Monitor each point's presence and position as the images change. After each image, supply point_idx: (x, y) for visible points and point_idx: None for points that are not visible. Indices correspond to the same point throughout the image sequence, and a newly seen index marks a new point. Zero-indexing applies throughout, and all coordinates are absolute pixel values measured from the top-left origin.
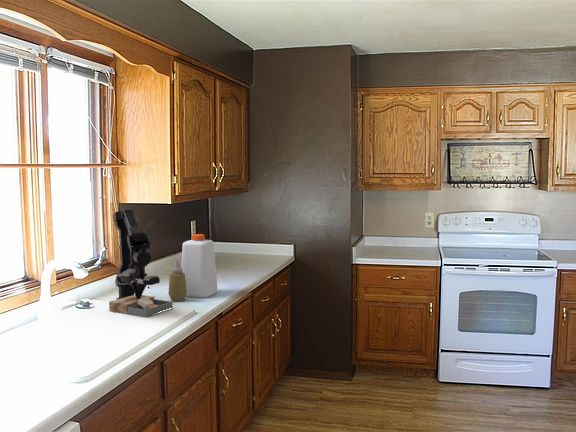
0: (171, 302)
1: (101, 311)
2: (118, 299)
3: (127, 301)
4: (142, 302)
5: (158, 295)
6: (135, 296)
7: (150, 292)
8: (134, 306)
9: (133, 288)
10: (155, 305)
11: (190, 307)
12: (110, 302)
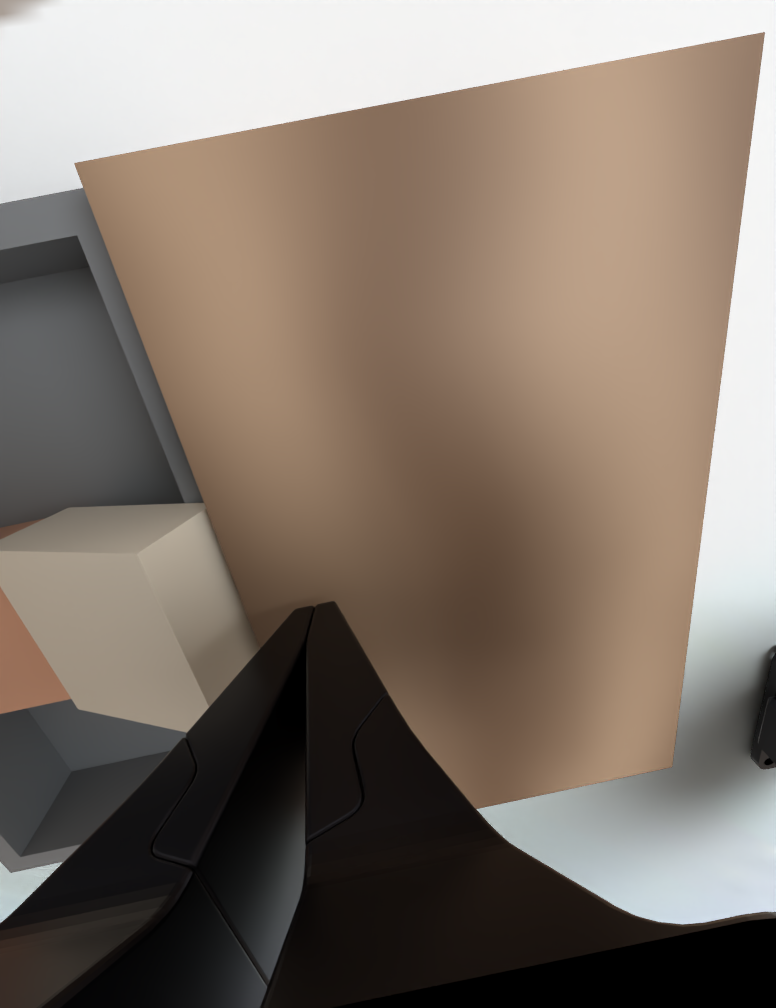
0: (2, 851)
1: (739, 21)
2: (703, 380)
3: (386, 395)
4: (52, 547)
5: (637, 893)
6: (585, 699)
7: (768, 895)
8: (151, 391)
9: (400, 776)
10: (42, 674)
11: (8, 886)
12: (703, 51)
